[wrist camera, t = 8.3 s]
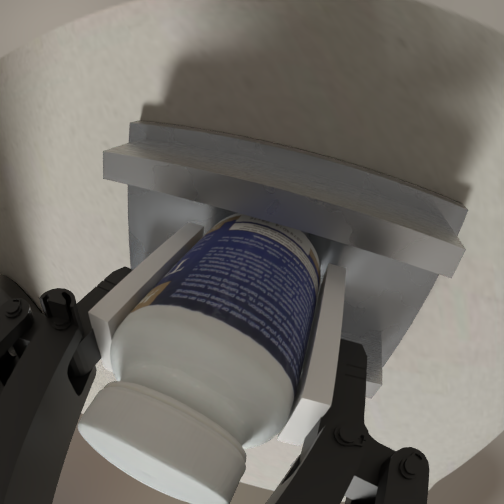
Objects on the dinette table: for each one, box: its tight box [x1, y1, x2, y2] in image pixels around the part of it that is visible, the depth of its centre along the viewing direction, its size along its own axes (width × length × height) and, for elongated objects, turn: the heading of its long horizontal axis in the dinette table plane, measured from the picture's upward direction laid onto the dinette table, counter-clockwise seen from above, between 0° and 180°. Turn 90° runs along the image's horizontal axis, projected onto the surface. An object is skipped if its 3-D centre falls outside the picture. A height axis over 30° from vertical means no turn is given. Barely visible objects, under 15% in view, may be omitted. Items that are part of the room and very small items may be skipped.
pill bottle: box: [78, 213, 321, 504], centre depth 9 cm, size 5×5×10 cm
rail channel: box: [103, 121, 468, 398], centre depth 13 cm, size 16×10×4 cm, turn 81°
